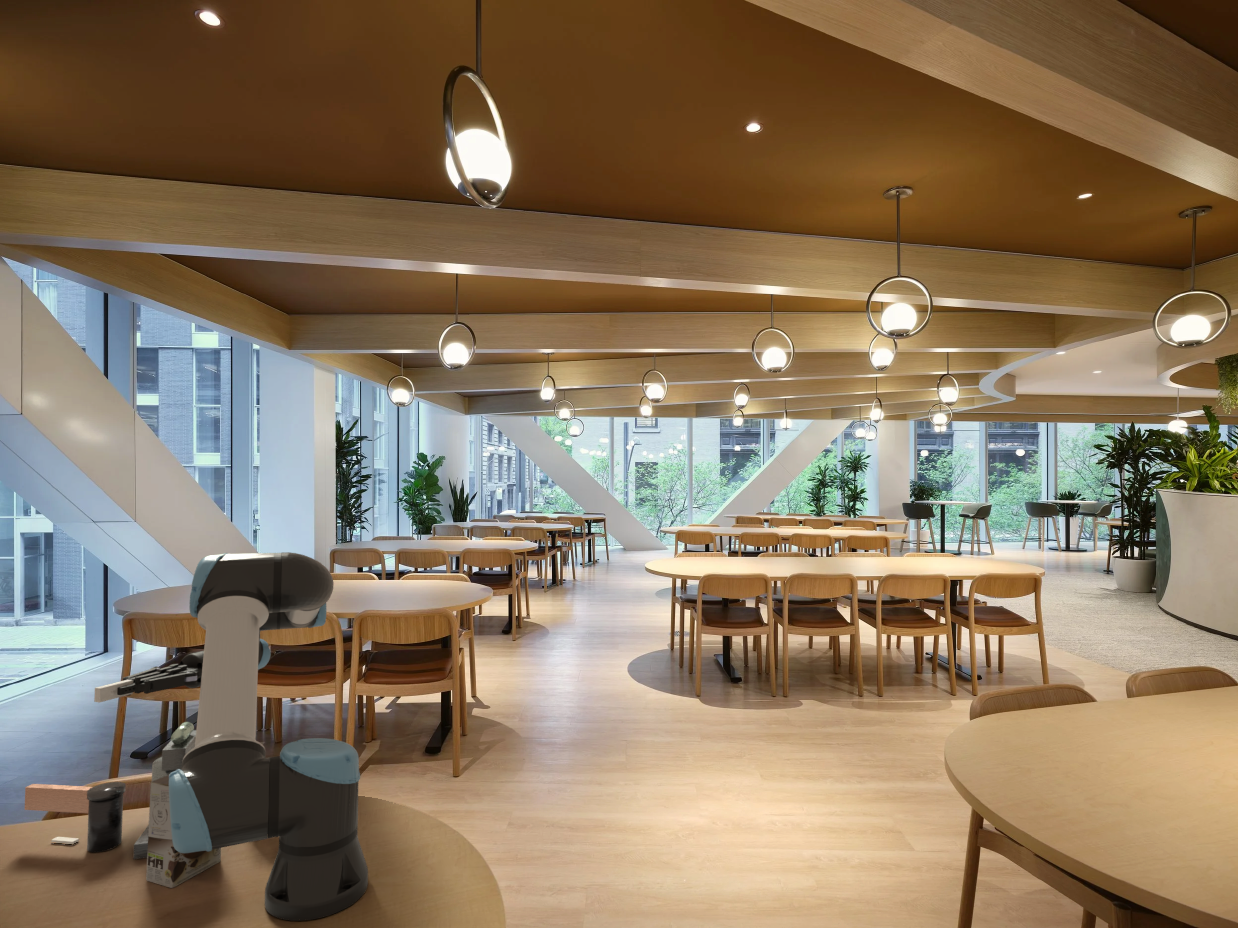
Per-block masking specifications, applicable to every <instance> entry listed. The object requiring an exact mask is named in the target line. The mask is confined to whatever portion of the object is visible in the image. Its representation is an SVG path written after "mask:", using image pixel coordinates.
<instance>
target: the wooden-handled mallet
mask: <svg viewBox="0 0 1238 928" xmlns="http://www.w3.org/2000/svg"><path fill="white" fill-rule="evenodd" d="M126 786H127V785H126V783H125V782H121V781H110V782H106V783H100V784H97V785H94V786H83V785H82V786H81V785H64V784H63V785H61V784H43V783H32V784H30V785H27V786H25V788H24V790H25V791H24V793H25V794H24V811H38V812H39V811H40V812H55V813H57V812H58V813H59V812H60V813H75V814H76V813H79V814H87V815H88V816H87V818H88V819H87V820H88V821H87V839H86V841H87V845H86V851H87V852H90V853H102V852H105V851H109V850H112V849H114V848H117V847H118V846H119V845H121V843H122V842H123V841H122V840H123V837H122V836H123V814H124V813H123V811H124V810H123V809H124V793H125V792H126V788H127V787H126Z"/></svg>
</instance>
